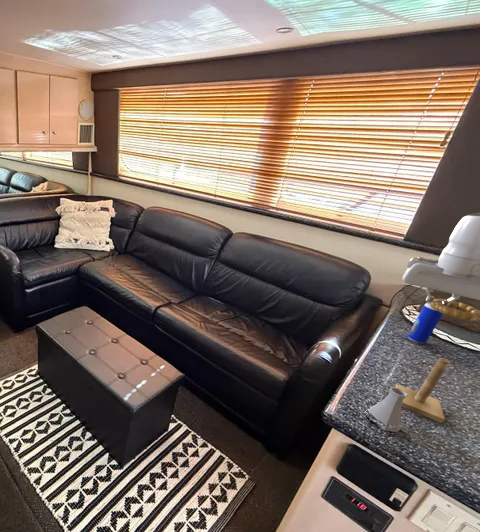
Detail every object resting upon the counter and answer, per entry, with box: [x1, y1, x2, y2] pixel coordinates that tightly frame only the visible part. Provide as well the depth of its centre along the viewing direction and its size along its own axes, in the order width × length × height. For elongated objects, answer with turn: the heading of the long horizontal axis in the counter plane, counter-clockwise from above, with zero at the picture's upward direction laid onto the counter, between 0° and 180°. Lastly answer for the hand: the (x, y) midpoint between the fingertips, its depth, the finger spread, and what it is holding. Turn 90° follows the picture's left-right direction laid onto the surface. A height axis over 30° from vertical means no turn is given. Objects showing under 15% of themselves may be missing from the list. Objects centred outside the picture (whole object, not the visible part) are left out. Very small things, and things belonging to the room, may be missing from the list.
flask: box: [363, 386, 408, 433], centre depth 81 cm, size 7×7×10 cm
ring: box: [430, 298, 480, 322], centre depth 101 cm, size 11×11×2 cm
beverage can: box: [407, 301, 444, 344], centre depth 117 cm, size 5×5×15 cm
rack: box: [394, 357, 451, 424], centre depth 86 cm, size 9×9×16 cm
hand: (436, 303), depth 103 cm, fingers closed on ring, 2 cm apart
